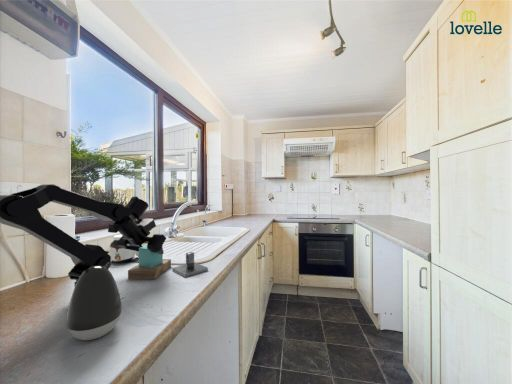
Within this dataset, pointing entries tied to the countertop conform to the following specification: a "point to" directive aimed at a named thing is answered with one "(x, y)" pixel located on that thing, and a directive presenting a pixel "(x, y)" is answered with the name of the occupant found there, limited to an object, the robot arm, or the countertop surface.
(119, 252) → the spread jar
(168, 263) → the board
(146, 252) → the turquoise square block
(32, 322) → the countertop surface
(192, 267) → the post stand
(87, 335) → the dark grey egg shape
